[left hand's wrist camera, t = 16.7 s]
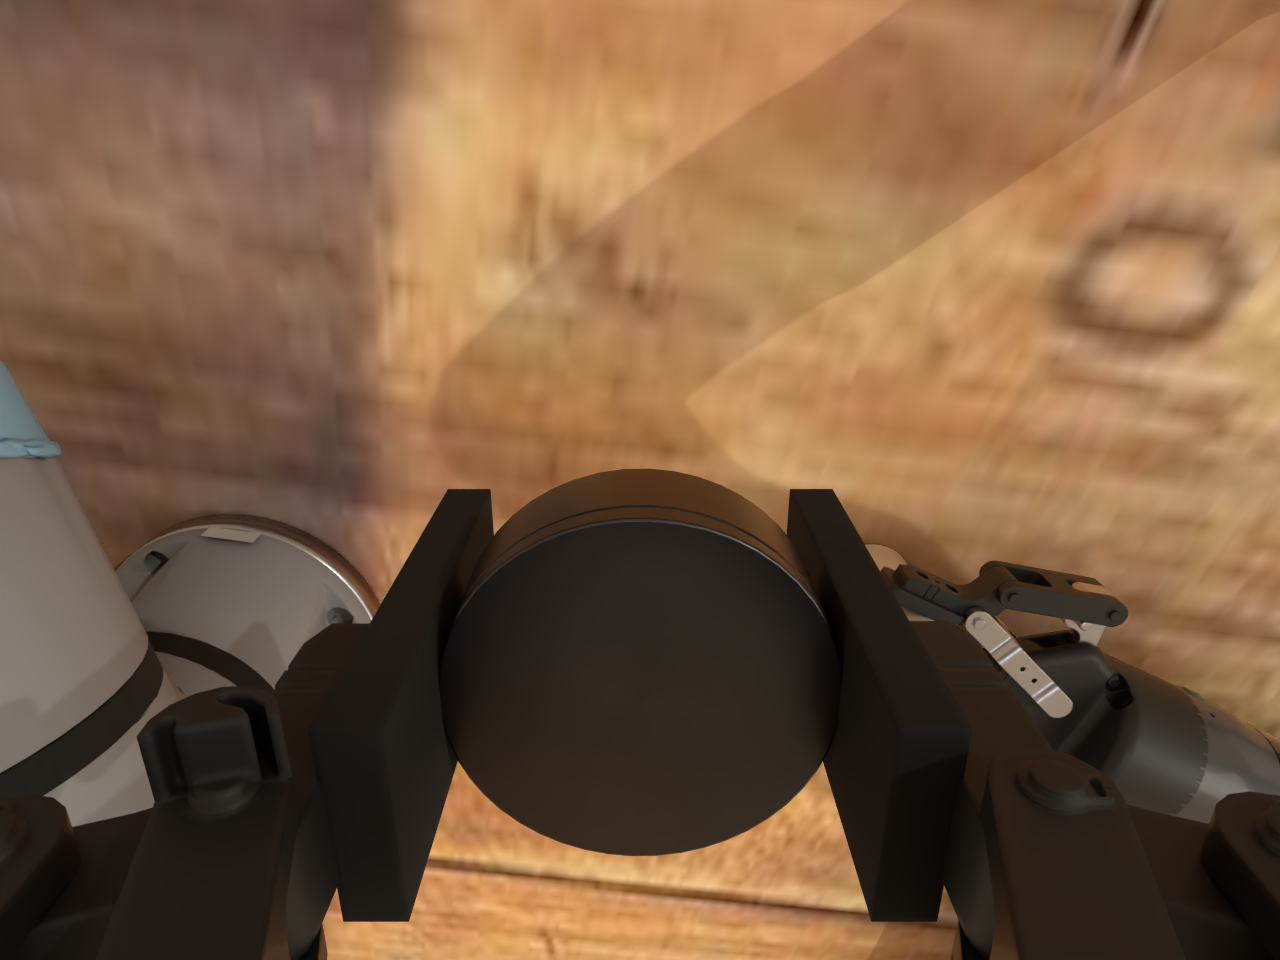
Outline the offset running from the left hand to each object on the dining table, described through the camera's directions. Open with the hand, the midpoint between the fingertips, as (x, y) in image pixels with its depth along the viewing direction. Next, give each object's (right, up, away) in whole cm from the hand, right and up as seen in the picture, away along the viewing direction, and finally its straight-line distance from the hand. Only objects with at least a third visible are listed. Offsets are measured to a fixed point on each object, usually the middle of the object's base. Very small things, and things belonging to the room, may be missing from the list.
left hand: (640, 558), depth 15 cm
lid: (0, -1, -4) cm, 4 cm away
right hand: (+10, -6, +23) cm, 26 cm away
